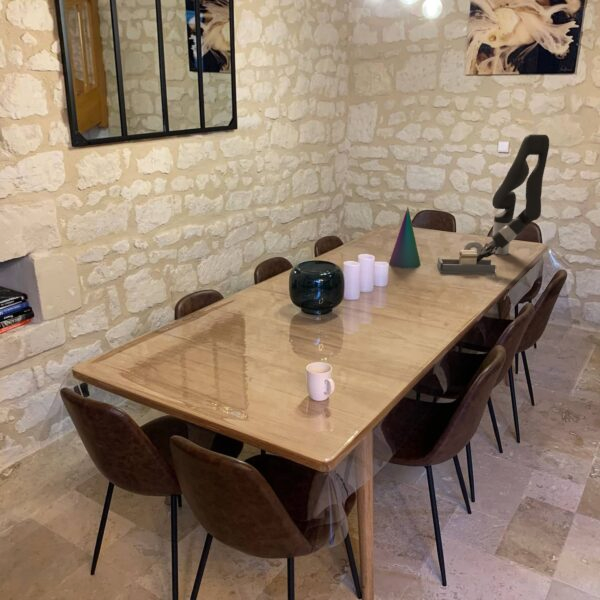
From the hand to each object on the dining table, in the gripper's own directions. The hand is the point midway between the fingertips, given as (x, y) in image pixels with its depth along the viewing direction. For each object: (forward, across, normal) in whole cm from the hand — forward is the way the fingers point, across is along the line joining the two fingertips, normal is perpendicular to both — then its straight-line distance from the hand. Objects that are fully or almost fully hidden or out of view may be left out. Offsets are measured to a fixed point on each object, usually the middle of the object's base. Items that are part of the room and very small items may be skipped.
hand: (476, 260), depth 288 cm
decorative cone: (+28, -9, -20) cm, 35 cm away
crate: (+5, 0, 0) cm, 5 cm away
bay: (+7, 0, 0) cm, 7 cm away
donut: (+2, -19, +5) cm, 20 cm away
